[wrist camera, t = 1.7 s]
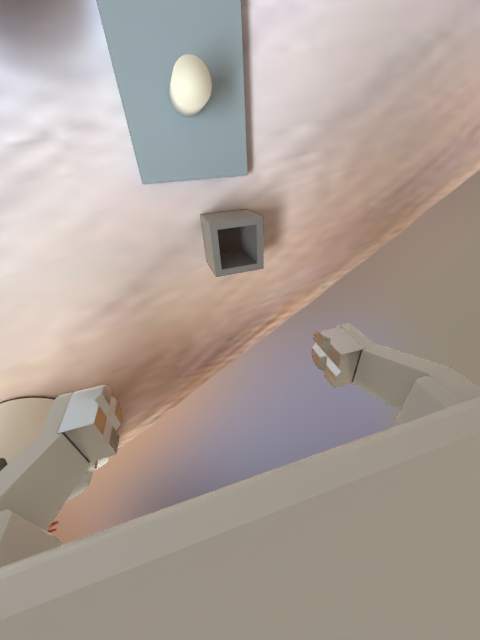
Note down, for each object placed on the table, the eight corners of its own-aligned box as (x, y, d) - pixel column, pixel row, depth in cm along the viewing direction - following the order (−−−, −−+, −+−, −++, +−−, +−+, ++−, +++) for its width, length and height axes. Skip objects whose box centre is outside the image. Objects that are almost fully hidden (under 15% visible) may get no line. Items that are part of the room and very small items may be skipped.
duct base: (243, 174, 30) (261, 175, 25) (142, 183, 27) (141, 186, 22) (235, -4, 22) (259, -53, 17) (93, -16, 19) (73, -79, 14)
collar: (248, 254, 35) (263, 268, 30) (206, 261, 34) (216, 277, 29) (245, 209, 32) (263, 216, 27) (199, 214, 30) (209, 223, 25)
